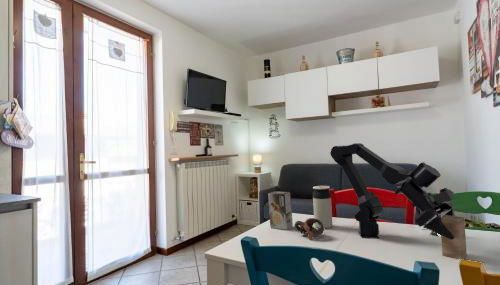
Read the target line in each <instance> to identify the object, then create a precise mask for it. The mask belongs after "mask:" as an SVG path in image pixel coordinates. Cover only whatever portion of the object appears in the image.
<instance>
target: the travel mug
mask: <svg viewBox="0 0 500 285" xmlns="http://www.w3.org/2000/svg"><path fill="white" fill-rule="evenodd" d="M330 188H331V187H330V186H329V185H317V186H313V187H312V189H313V192H312V201H313V202H312V204H313V218H315V219H318V220H320V221H321V222H322V224H323V228H327V229H331V228H333V226H334V225H333V209H332V194H331V192H330ZM314 228H316V229H317V228H318V229H320V228H321V225H319V223H317V222H316V223H315V224H314Z"/></svg>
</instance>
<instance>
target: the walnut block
mask: <svg viewBox="0 0 500 285" xmlns="http://www.w3.org/2000/svg"><path fill="white" fill-rule="evenodd" d="M441 221H442V223H443V224H444V225H445V226H446V228H447V229H448V230H449V231H450V232H451V234H452V235H453V236H454V239H452V240H451V239H449V238H447V237H444V236H442V235H441V237H440V240H441V252H442V253H441V254H442V255H441V256H443V257H446V258H450V259H454V258H455V259H456V260H458V259H460V260H459V261H462V260H464V259H465V258H466V257H468V255H467V251H468V250H467V240H466V239H467V238H466V226H465V224H466V223H465V217H464V216H463V217H462V216H456V215H455V216H450V215H444V216H442V217H441ZM461 259H462V260H461Z"/></svg>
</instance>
